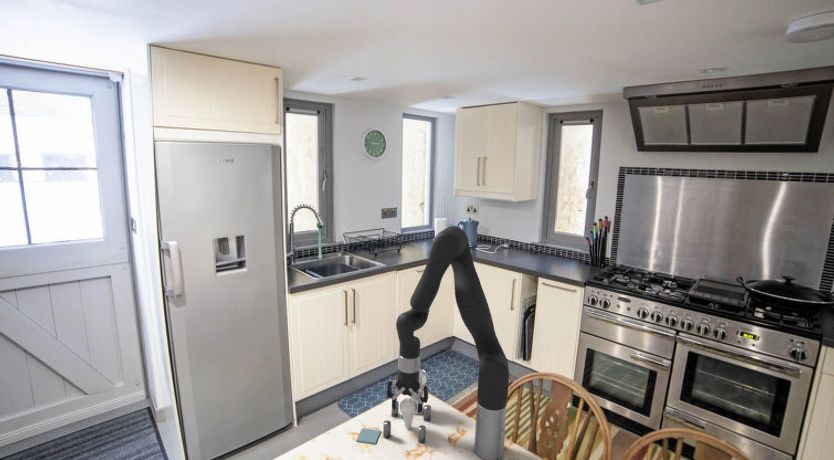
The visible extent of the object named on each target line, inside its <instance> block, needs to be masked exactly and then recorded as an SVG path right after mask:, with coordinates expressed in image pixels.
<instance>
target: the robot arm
mask: <svg viewBox="0 0 834 460" xmlns="http://www.w3.org/2000/svg"><path fill="white" fill-rule="evenodd" d="M472 255H473V254H472V250H471V246H470V241H469V237H468V235H467V234H466V232H465V231H464V229H462V228H461V227H459V226H457V225H451V226H448V227H446V228H445V229H443V230H442V231H439V232H438V233H437V234H436V235H435V237H434V239H433V242H432V245H431V249H430V252H429V255H428V256H429V257H428V260H427V262H426V265H425V267H424V270H423V273H422V274H421V276H420V279H419V280H418V282H417V285H416V287H415V289H414V291H413V293H412V294H411V296H410V300H409V304H410V307H411V308H410V309H409V310H406V311H405V312H402V313H400V314H399V315H398V317H397V318H396V322H395V323H396V325H395V328H396V332H397V337H398V342H399V348H398V349H399V351H398V352H399V354H398V360H397V378H396V379H397V380H394V379H393V378H389V380H388V382H387V387H386V388H387V391H386V398H389V399H391V409H392V408H393V410H396V407H397V401H398V397H399V396H400V395H402V396H408V397H409V396H412V395H413V396H414V398H415V399H416V400H417V401H418V413H420V412H421V411H422V407H423V404H424V403H425V404H427V403H428V401H429V383H428V382H426V383H425V384H420V382H419V375H420V369H421V340H420V338H419V337H417V335H416V336H415V335H414V333H415V332H416V331H418V330H420V329H422V328H423V327H424V326H425V324H426V323H427V320H428V317H429V315H430V310H431V309H430V308H431V306H432V305H433V303H434V300H435V299H436V297H437V295H438V292H439V289H440V287H441V283H442V279H443V277H444V275H445V273H446V271H447V270H448V268H449V267H450V266H451V269H452V271H453V280H454V281H453V286H454V297H455V303H456V306H457V308H458V311H459V314H460V317H461V319H462V322H463V324H464V326H465V327H466V329H467V330H468V332H469V334H470V335H471V337H472V338H473V341H474V344H475V348H476V352H477V356H478V357H477V358H478V362H479V364H478V376H477V378H478V379H477V393H476V411H475V412H476V413H475V427H474V428H475V432H474V443H473V445H474V448H473V449H474V453H475V455H477V457H479V458H481V459H483V460H497V459H498V460H503V459H504V453H505V440H506V439H505V437H506V436H505V435H506V417H507V415H506V414H507V402H508V396H509V395H508V394H509V384H510V367H509V362H508V358H507V356H506V354H505V353H504V350H503V348H502V346H501V343H500V341H499V339H498V337H497V334H496V331H495V327H494V321H493V317H492V313H491V310H490V307H489V304H488V300H487V297H486V295H485V292H484V290H483V287H482V283H481V280H480V277H479V275H478V272H477V270H476V267H475V263H474V259H473V256H472ZM394 386H395V387H396V388H397V389H396V390H395V391H394V392H393V388H394ZM420 388H421V389H422V391H424V397H422V396H421V394H420V392H419V389H420ZM500 458H501V459H500ZM502 458H503V459H502Z"/></svg>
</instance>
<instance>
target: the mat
mask: <svg viewBox="0 0 834 460" xmlns="http://www.w3.org/2000/svg"><path fill="white" fill-rule="evenodd" d="M380 434H381V430H378V429H372V428H371V429H369V428H364V427H362V428H361V430H360V433H359V434H358V437H357V438H356V442H359V443H365V444H371V445H376V444H377V441H378V439H379V437H380Z"/></svg>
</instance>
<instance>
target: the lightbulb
mask: <svg viewBox="0 0 834 460" xmlns="http://www.w3.org/2000/svg"><path fill="white" fill-rule="evenodd" d="M416 410H417V403H416V401H415V400H414V399H413V398H410V397H409V396H408V397H405V398H403V399H402V400H401V401H400V403H399V412H400V413H401V414H402V418H403V423H404V424H403V426H404V427H405V428H406V429H410V428H412V424H413V418H414V416H415V412H416Z"/></svg>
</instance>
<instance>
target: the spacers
mask: <svg viewBox="0 0 834 460" xmlns="http://www.w3.org/2000/svg"><path fill="white" fill-rule="evenodd" d="M399 412H400V403H399V401H398V400H397V407H396V410H393V408H392V407H391V417H393V418H398V417H399ZM431 419H432V406H431V405H430V404H425V405H424V412H423V421H424V422H427V423H428V422H431ZM382 429H383V430H382V431H383V438H384V439H386V440H387V439H390V438H391V437H392V434H391V433H392V432H391V431H392V422H391V420H384V421H383V428H382ZM417 430H418V431H417V436H418V437H417V442H418V443H419V444H421V445H423V444H426V438H427V427H426V425H421V424H420V425H419V426H418V429H417Z"/></svg>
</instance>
